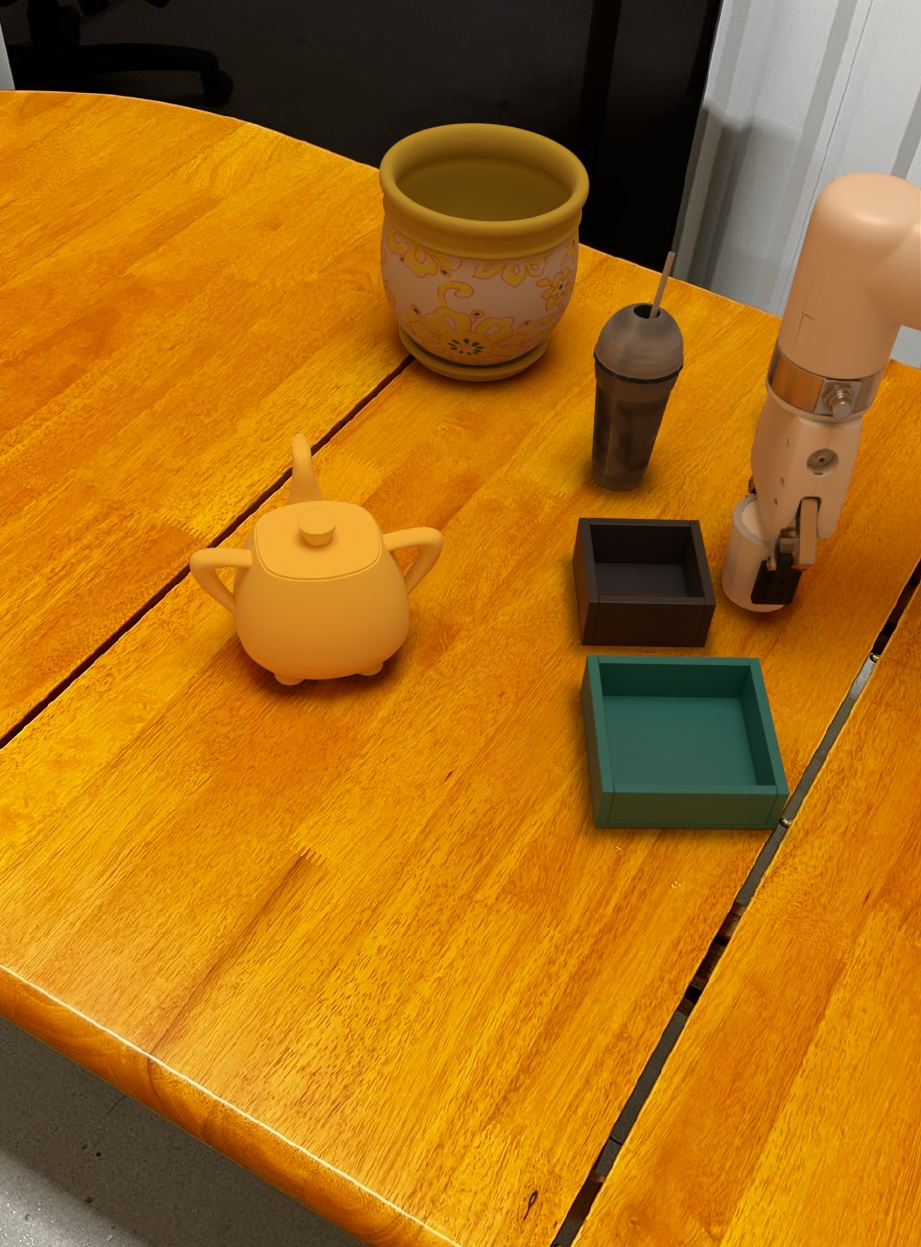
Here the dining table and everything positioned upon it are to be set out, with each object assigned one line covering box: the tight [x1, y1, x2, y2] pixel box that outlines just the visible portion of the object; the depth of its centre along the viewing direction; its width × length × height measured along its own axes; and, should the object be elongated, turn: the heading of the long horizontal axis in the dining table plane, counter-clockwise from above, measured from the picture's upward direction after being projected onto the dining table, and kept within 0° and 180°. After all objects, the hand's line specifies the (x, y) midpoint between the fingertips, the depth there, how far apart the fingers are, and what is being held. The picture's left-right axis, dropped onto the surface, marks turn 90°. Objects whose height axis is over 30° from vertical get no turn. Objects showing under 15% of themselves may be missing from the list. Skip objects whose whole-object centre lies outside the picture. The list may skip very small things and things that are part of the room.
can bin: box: [571, 517, 717, 648], centre depth 98 cm, size 10×10×4 cm
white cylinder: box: [721, 494, 820, 613], centre depth 99 cm, size 7×7×7 cm
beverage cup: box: [591, 251, 685, 492], centre depth 102 cm, size 7×7×20 cm
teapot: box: [188, 433, 445, 686], centre depth 92 cm, size 14×14×12 cm
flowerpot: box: [378, 122, 590, 383], centre depth 114 cm, size 18×18×16 cm
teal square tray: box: [579, 654, 790, 830], centre depth 89 cm, size 13×13×4 cm
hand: (762, 567), depth 100 cm, fingers closed on white cylinder, 6 cm apart
